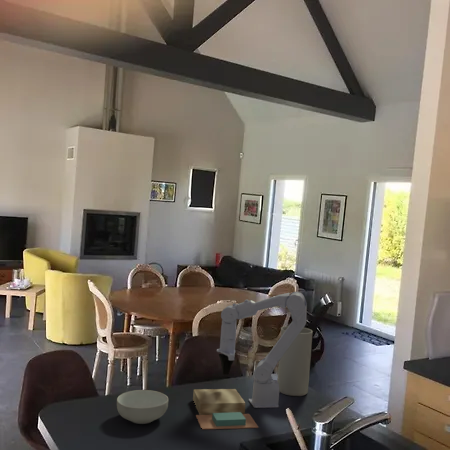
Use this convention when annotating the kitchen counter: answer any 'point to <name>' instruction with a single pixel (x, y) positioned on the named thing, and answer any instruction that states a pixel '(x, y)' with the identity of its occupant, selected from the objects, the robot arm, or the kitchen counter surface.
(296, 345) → the cylinder vase
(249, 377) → the kitchen counter surface
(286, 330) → the robot arm
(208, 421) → the terracotta mat
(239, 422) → the teal rectangular block
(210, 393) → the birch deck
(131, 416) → the cereal bowl
